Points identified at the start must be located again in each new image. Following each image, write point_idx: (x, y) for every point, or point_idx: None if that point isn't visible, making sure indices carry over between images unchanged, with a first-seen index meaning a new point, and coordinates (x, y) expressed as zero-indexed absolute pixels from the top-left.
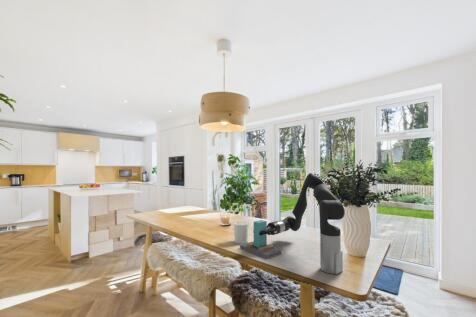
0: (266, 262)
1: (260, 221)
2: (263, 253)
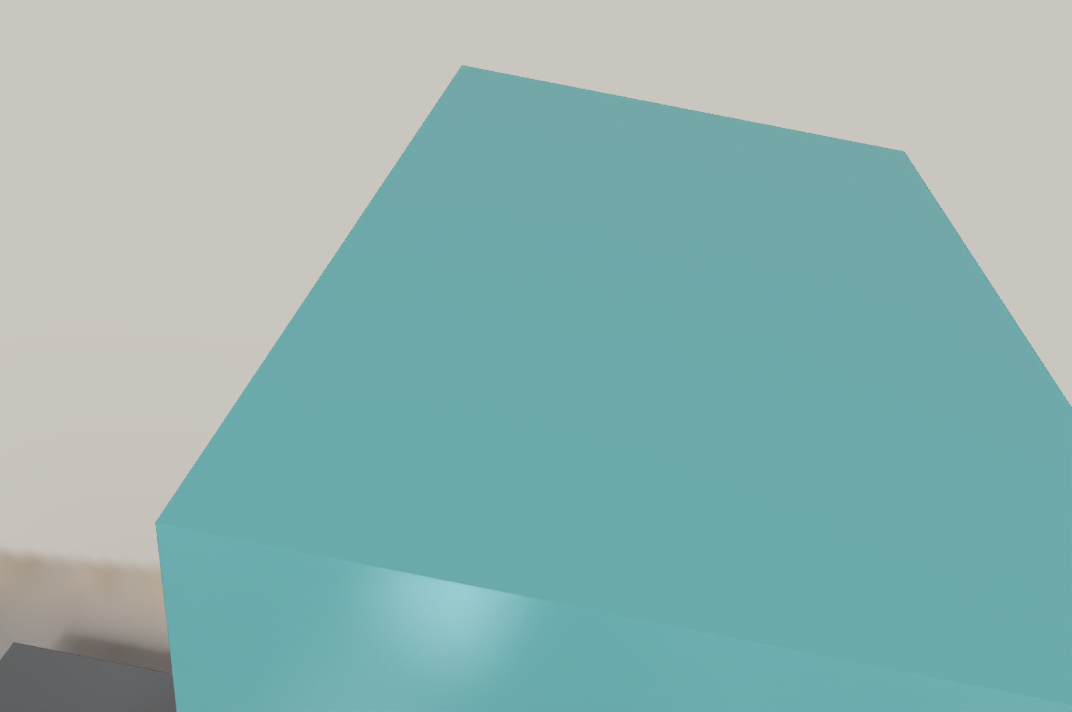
0: (3, 558)
1: (654, 250)
2: (141, 685)
